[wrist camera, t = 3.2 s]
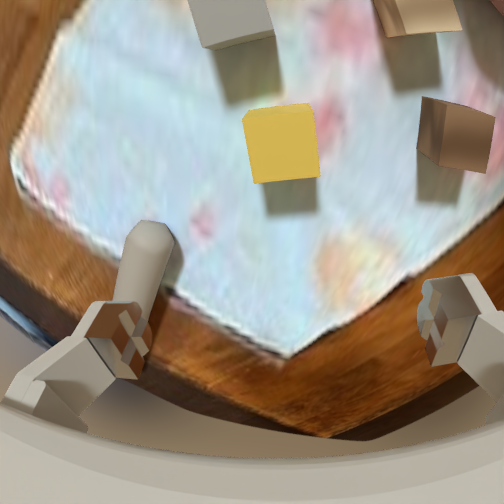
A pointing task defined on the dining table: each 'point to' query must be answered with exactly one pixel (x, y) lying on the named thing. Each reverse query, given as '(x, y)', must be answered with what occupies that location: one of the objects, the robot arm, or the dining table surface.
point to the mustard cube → (282, 143)
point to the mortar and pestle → (499, 5)
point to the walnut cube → (455, 135)
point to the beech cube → (417, 16)
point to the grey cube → (230, 22)
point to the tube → (143, 264)
